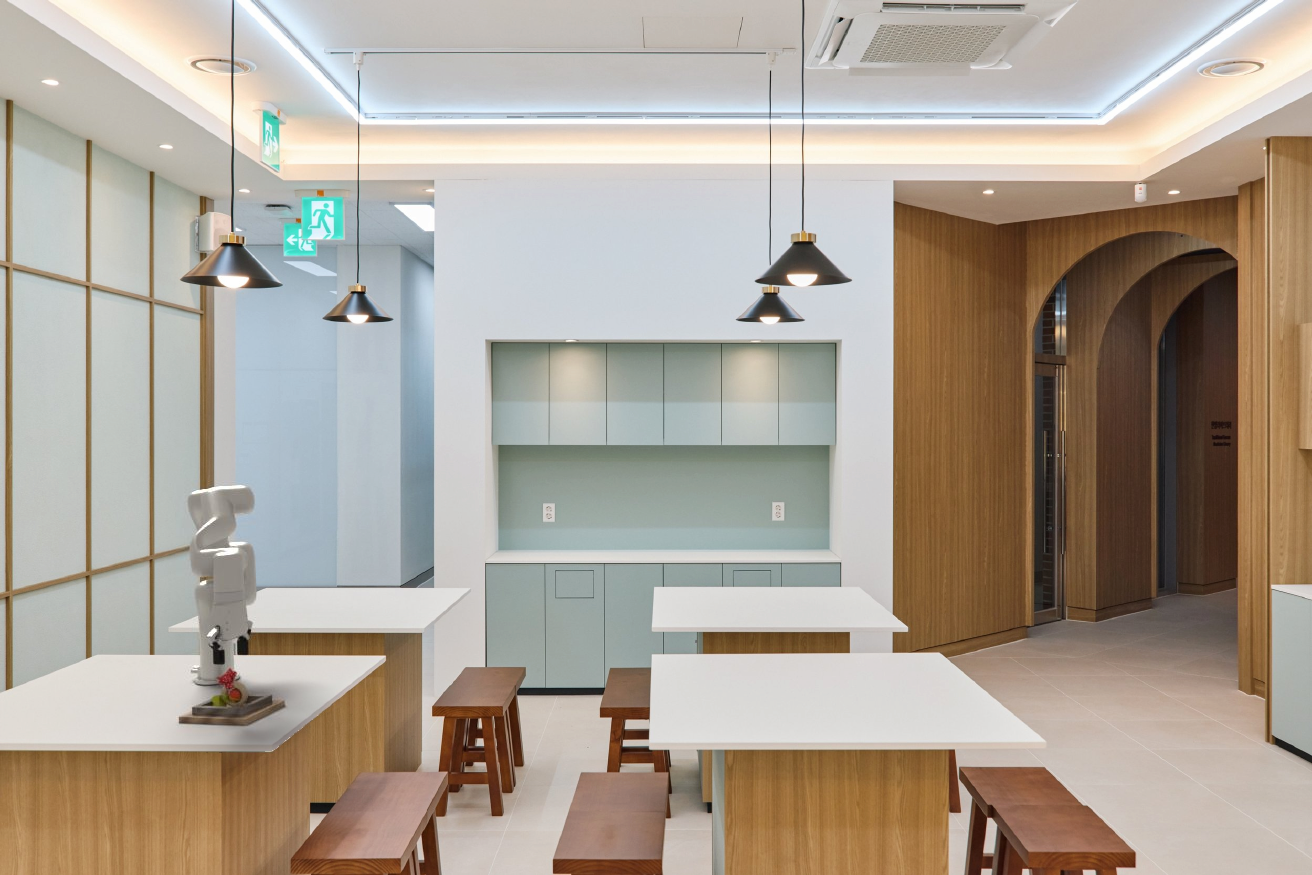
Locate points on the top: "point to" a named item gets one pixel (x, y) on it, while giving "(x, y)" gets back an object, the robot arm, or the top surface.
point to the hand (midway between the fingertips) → (231, 659)
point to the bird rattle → (236, 694)
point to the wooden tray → (233, 711)
